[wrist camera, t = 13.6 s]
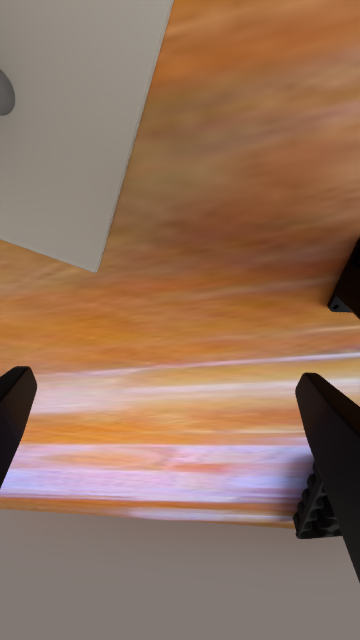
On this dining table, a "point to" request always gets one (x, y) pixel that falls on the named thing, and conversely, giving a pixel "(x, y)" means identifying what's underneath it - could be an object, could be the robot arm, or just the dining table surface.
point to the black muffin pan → (315, 511)
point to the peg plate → (71, 117)
